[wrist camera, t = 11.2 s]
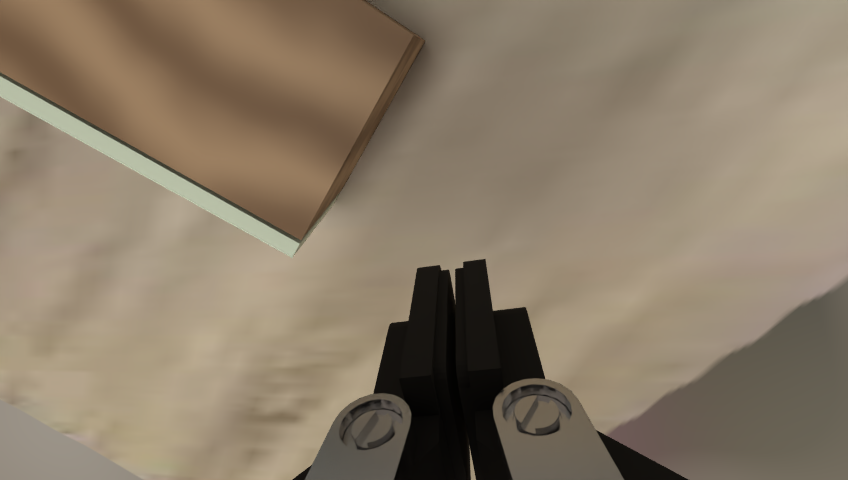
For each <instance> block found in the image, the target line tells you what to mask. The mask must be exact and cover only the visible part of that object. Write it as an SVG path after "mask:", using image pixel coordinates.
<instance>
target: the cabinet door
mask: <svg viewBox="0 0 848 480" xmlns="http://www.w3.org/2000/svg"><path fill="white" fill-rule="evenodd" d="M0 97H2V98H4V99H5V100H7V101H9V102H11V103H13V104H14V105H16V106H18V107H20V108H22V109H24V110H25V111H27V112H29V113H31V114H33V115H34V116H36V117H38V118H40V119H42V120H43V121H45V122H47V123H49V124H51V125H52V126H54V127H56V128H58V129H60V130H62V131H63V132H65V133H67V134H69V135H71V136H72V137H74V138H76V139H78V140H80V141H81V142H83V143H85V144H87V145H89V146H90V147H92V148H94V149H96V150H98V151H100V152H101V153H103V154H105V155H107V156H109V157H110V158H112V159H114V160H116V161H118V162H119V163H121V164H123V165H125V166H127V167H129V168H130V169H132V170H134V171H136V172H138V173H139V174H141V175H143V176H145V177H147V178H148V179H150V180H152V181H154V182H156V183H157V184H159V185H161V186H163V187H165V188H167V189H168V190H170V191H172V192H174V193H176V194H177V195H179V196H181V197H183V198H185V199H186V200H188V201H190V202H192V203H194V204H195V205H197V206H199V207H201V208H203V209H205V210H206V211H208V212H210V213H212V214H214V215H215V216H217V217H219V218H221V219H223V220H224V221H226V222H228V223H230V224H232V225H233V226H235V227H237V228H239V229H241V230H243V231H244V232H246V233H248V234H250V235H252V236H253V237H255V238H257V239H259V240H261V241H262V242H264V243H266V244H268V245H270V246H271V247H273V248H275V249H277V250H279V251H281V252H282V253H284V254H286V255H288V256H290V257H291V258H292V257H293V256H294V255H295V254H296V252H297V251H298V250H299V248H300V247H301V246H302V245H303V243H304V242H305V241H306V239H307V238H308V237H309V235H310V234H311V233H312V232H313V230H314V229H315V228H316V226H317V225H318V224H319V223H320V221H321V220H322V219H323V217H324V216H325V215H326V213H327V212H328V211H329V210H330V208H331V207H332V206H333V204H334V202H335V201H336V199H337V197H338V195H339V194H338V195H337V196H336V197H335V199H334V200H333V201H332V202H331V204H330V205H329V206H328V207H327V209H326V210H325V211H324V212H323V214H322V215H321V216H320V217H319V219H318V220H317V221H316V222H315V224H314V225H313V226H312V227H311V229H310V230H309V231H308V232H307V234H306V235H305V236H304V238H303V239H302V240H300V239H298V238H296V237H294V236H292V235H291V234H289V233H287V232H285V231H283V230H282V229H280V228H278V227H276V226H274V225H273V224H271V223H269V222H267V221H266V220H264V219H262V218H260V217H258V216H257V215H255V214H253V213H251V212H249V211H248V210H246V209H244V208H242V207H240V206H239V205H237V204H235V203H233V202H232V201H230V200H228V199H226V198H224V197H223V196H221V195H219V194H217V193H215V192H214V191H212V190H210V189H208V188H206V187H205V186H203V185H201V184H199V183H198V182H196V181H194V180H192V179H190V178H189V177H187V176H185V175H183V174H181V173H180V172H178V171H176V170H174V169H172V168H171V167H169V166H167V165H165V164H164V163H162V162H160V161H158V160H156V159H155V158H153V157H151V156H149V155H147V154H146V153H144V152H142V151H140V150H138V149H137V148H135V147H133V146H131V145H130V144H128V143H126V142H124V141H122V140H121V139H119V138H117V137H115V136H113V135H112V134H110V133H108V132H106V131H104V130H103V129H101V128H99V127H97V126H96V125H94V124H92V123H90V122H88V121H87V120H85V119H83V118H81V117H79V116H78V115H76V114H74V113H72V112H70V111H69V110H67V109H65V108H63V107H62V106H60V105H58V104H56V103H54V102H53V101H51V100H49V99H47V98H45V97H44V96H42V95H40V94H38V93H36V92H35V91H33V90H31V89H29V88H28V87H26V86H24V85H22V84H20V83H19V82H17V81H15V80H13V79H11V78H10V77H8V76H6V75H4V74H2V73H1V72H0Z"/></svg>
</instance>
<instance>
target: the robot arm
mask: <svg viewBox="0 0 848 480" xmlns="http://www.w3.org/2000/svg"><path fill="white" fill-rule="evenodd" d="M463 267H464V268H458V269H455V298H456V305H455V299H454V294H453V288H452V282H451V277H450V272H449V270H443V271H441V268H440V265H437V266H429V267H422V268H417V273H416V279H415V285H414V291H413V297H412V303H411V309H410V315H409V321H405V322H396V323H391V324H390V326H389V329H388V333H387V337H386V342H385V346H384V350H383V355H382V359H381V363H380V368H379V372H378V376H377V381H376V385H375V389H374V394H371V395H368V396H365V397H362V398H359V399H357V400H356V401H354V402H352V403H350V404H349V405H348V406H347V407H345V408H344V409H343V410H342V411H341V412H340V413H339V415H338V416H337V417H336V419H335V420H334V422H333V424H332V426H331V428H330V430H329V432H328V434H327V436H326V438H325V440H324V442H323V444H322V446H321V448H320V450H319V452H318V454H317V456H316V458H315V460H314V462H313V464H312V465H311V466H310V467H308V468H307V469H306V470H305V471H303V472H302V473H301V474H299V475H298V476H297V477H295V478H294V479H293V480H471V475H470V450H471V455H472V460H473V465H474V471H475V476H476V480H688V479H686V478H684V477H682V476H681V475H679V474H677V473H675V472H673V471H671V470H669V469H668V468H666V467H664V466H662V465H660V464H658V463H656V462H655V461H652V460H651V459H649V458H647V457H645V456H643V455H641V454H639V453H638V452H636V451H634V450H632V449H630V448H628V447H627V446H625V445H623V444H621V443H619V442H617V441H615V440H614V439H612V438H610V437H608V436H606V435H604V434H602V433H601V432H599V431H597V430H595V428H594V426H593V424H592V423H591V421H590V419H589V417H588V416H587V414H586V412H585V410H584V408H583V407H582V405H581V403H580V401H579V400H578V398H577V397H576V396H575V395H574V394H573V392H572V391H571V390H569V389H568V388H566V387H565V386H563V385H562V384H560V383H557V382H554V381H551V380H547V379H545V376H544V372H543V369H542V365H541V361H540V358H539V354H538V350H537V347H536V343H535V339H534V335H533V332H532V328H531V324H530V321H529V317H528V313H527V310H526V308H525V307H522V308H514V309H506V310H497V311H493V309H492V302H491V295H490V288H489V281H488V274H487V267H486V260H485V259H482V260H474V261H467V262H463ZM469 445H470V448H469Z"/></svg>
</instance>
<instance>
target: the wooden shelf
mask: <svg viewBox="0 0 848 480" xmlns="http://www.w3.org/2000/svg"><path fill="white" fill-rule="evenodd" d="M424 42H425V40H423V39H422V38H420V37H419V36H417V35H416V34H414V33H413V32H412V31H410V30H409V29H407V28H406V27H404V26H403V25H401V24H400V23H398V22H397V21H395V20H394V19H392V18H391V17H389V16H388V15H386V14H385V13H383V12H382V11H380V10H379V9H377V8H376V7H374V6H373V5H371V4H370V3H368V2H367V1H365V0H0V72H1V73H2V74H4V75H6V76H8V77H10V78H11V79H13V80H15V81H17V82H19V83H20V84H22V85H24V86H26V87H28V88H29V89H31V90H33V91H35V92H36V93H38V94H40V95H42V96H44V97H45V98H47V99H49V100H51V101H53V102H54V103H56V104H58V105H60V106H62V107H63V108H65V109H67V110H69V111H70V112H72V113H74V114H76V115H78V116H79V117H81V118H83V119H85V120H87V121H88V122H90V123H92V124H94V125H96V126H97V127H99V128H101V129H103V130H104V131H106V132H108V133H110V134H112V135H113V136H115V137H117V138H119V139H121V140H122V141H124V142H126V143H128V144H130V145H131V146H133V147H135V148H137V149H138V150H140V151H142V152H144V153H146V154H147V155H149V156H151V157H153V158H155V159H156V160H158V161H160V162H162V163H164V164H165V165H167V166H169V167H171V168H172V169H174V170H176V171H178V172H180V173H181V174H183V175H185V176H187V177H189V178H190V179H192V180H194V181H196V182H198V183H199V184H201V185H203V186H205V187H206V188H208V189H210V190H212V191H214V192H215V193H217V194H219V195H221V196H223V197H224V198H226V199H228V200H230V201H232V202H233V203H235V204H237V205H239V206H240V207H242V208H244V209H246V210H248V211H249V212H251V213H253V214H255V215H257V216H258V217H260V218H262V219H264V220H266V221H267V222H269V223H271V224H273V225H274V226H276V227H278V228H280V229H282V230H283V231H285V232H287V233H289V234H291V235H292V236H294V237H296V238H298V239H300V240H302V239H303V238H304V236H305V235H306V234H307V232H308V231H309V230H310V229H311V227H312V226H313V225H314V224H315V222H316V221H317V220H318V219H319V217H320V216H321V215H322V214H323V212H324V211H325V210H326V209H327V207H328V206H329V205H330V204H331V202H332V201H333V200H334V199H335V197H336V196H337V195H338V194H339V192H340V191H341V190H342V189H343V187H344V185H345V183H346V182H347V180H348V178H349V176H350V175H351V173H352V171H353V169H354V167H355V166H356V164H357V162H358V160H359V158H360V157H361V155H362V153H363V151H364V150H365V148H366V146H367V144H368V142H369V141H370V139H371V137H372V135H373V133H374V132H375V130H376V128H377V126H378V125H379V123H380V121H381V119H382V117H383V116H384V114H385V112H386V110H387V108H388V107H389V105H390V103H391V101H392V100H393V98H394V96H395V94H396V92H397V91H398V89H399V87H400V85H401V83H402V82H403V80H404V78H405V76H406V75H407V73H408V71H409V69H410V67H411V66H412V64H413V62H414V60H415V58H416V57H417V55H418V53H419V51H420V50H421V48H422V46H423V44H424Z"/></svg>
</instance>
